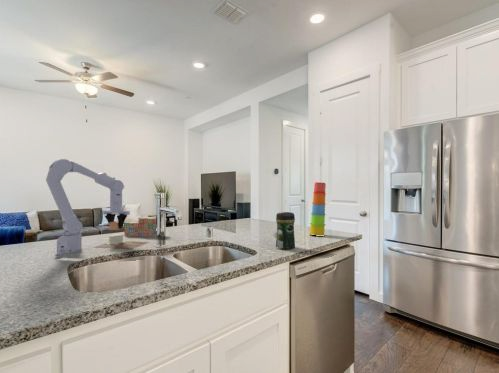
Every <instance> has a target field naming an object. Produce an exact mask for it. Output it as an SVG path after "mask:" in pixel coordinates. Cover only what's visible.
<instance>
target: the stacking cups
mask: <svg viewBox="0 0 499 373" xmlns="http://www.w3.org/2000/svg"><path fill="white" fill-rule="evenodd" d="M313 187H314V189H313V197H312V198H313V199H312V203H311V204H312V207H311V208H312V209H311V213H310V214H311V217H310V218H311V219H310V223H309V224H310V229H309V233H310V234H314V235H324V234H325V226H326V224H325V222H326V220H325V218H326V212H325V211H326V194H327V193H326V187H327V186H326V182H317V181H315V182H314V186H313Z"/></svg>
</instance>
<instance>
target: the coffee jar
mask: <svg viewBox="0 0 499 373" xmlns="http://www.w3.org/2000/svg"><path fill="white" fill-rule="evenodd" d="M275 217H276V218H275V221H276V230H277V231H276V240H275V247H276V248H277V247H278V248H281V249H280V250H284V249H286V250H290V249H289V248H291V249H294V248H295V246H296V240H295V239H296V238H295V229H294V228H295V220H296V219H295V218H296V217H295V214H294V212H289V211H285V212H284V211H282V212H278V213H276V216H275ZM293 247H294V248H293ZM278 248H277V249H278Z"/></svg>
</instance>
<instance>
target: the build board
mask: <svg viewBox="0 0 499 373" xmlns="http://www.w3.org/2000/svg"><path fill="white" fill-rule="evenodd" d="M149 243H150V242H149V241H148V242H147V241H127V240H123V242H121V243H119V244H109V242H106V243H102V244H99V245H96V246H94V248H96V249H97V248H98V249H115V250H116V249H118V250H134V249H136V248H139V247H141V246H144V245H147V244H149Z"/></svg>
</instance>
